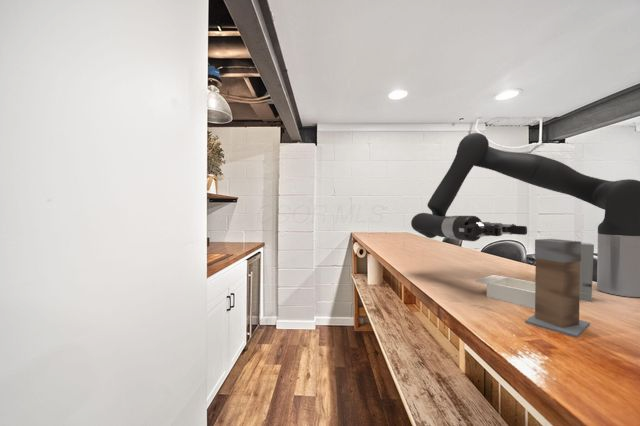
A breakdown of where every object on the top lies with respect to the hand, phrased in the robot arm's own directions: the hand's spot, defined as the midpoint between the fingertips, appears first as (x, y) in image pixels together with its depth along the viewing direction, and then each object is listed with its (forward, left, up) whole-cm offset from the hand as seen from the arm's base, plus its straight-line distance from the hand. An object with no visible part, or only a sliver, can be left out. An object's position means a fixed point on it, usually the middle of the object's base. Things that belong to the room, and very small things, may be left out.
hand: (513, 231), depth 65 cm
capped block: (+4, +9, -18) cm, 21 cm away
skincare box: (-23, +6, -19) cm, 30 cm away
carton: (-8, -1, -19) cm, 21 cm away
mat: (+4, +10, -19) cm, 22 cm away
